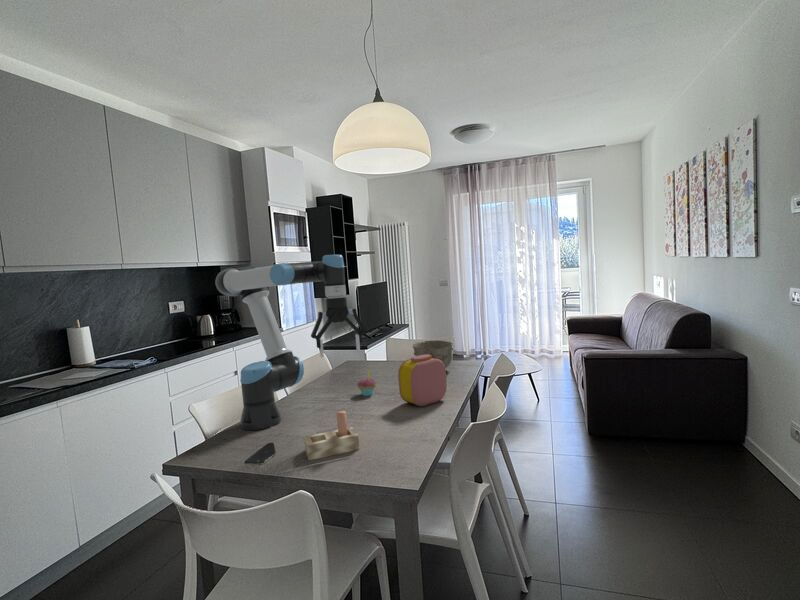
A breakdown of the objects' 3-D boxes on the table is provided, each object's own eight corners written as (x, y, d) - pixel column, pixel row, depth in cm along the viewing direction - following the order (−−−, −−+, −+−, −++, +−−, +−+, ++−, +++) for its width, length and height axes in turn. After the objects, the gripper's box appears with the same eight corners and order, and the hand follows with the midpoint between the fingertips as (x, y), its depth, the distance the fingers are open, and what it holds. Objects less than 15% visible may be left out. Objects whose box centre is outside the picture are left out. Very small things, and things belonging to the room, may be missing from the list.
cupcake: (377, 391, 201) (376, 366, 200) (375, 397, 193) (373, 370, 192) (359, 392, 202) (357, 366, 201) (356, 397, 194) (354, 371, 193)
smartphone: (287, 442, 147) (263, 462, 133) (288, 445, 147) (263, 465, 133) (268, 441, 149) (242, 461, 134) (268, 444, 149) (242, 464, 134)
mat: (321, 443, 146) (321, 442, 146) (316, 433, 155) (316, 432, 155) (350, 437, 149) (350, 436, 149) (343, 427, 158) (343, 426, 158)
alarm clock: (432, 394, 191) (429, 351, 190) (449, 399, 182) (446, 354, 181) (398, 404, 180) (395, 358, 179) (415, 410, 171) (411, 362, 170)
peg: (340, 451, 138) (337, 414, 137) (338, 447, 141) (335, 411, 140) (349, 449, 139) (346, 412, 138) (347, 445, 142) (344, 410, 141)
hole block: (308, 461, 132) (307, 445, 132) (305, 451, 140) (303, 436, 139) (359, 450, 138) (358, 435, 137) (353, 441, 145) (352, 426, 145)
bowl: (434, 364, 246) (433, 338, 245) (463, 369, 230) (461, 342, 228) (405, 372, 233) (403, 345, 231) (433, 379, 216) (431, 349, 215)
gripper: (302, 300, 151) (307, 360, 152) (371, 294, 159) (375, 351, 161) (300, 299, 158) (305, 356, 160) (366, 293, 166) (370, 348, 168)
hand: (340, 354), depth 160 cm, fingers open, 13 cm apart
